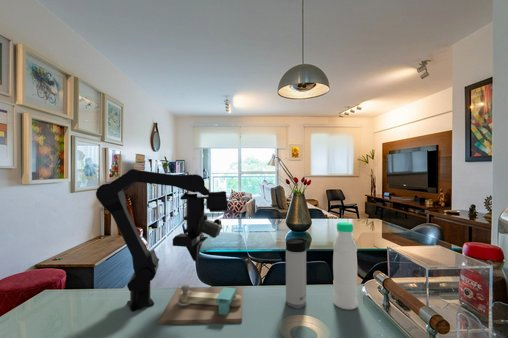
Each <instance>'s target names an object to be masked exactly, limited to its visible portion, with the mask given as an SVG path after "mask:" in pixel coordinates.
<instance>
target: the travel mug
mask: <svg viewBox="0 0 508 338" xmlns="http://www.w3.org/2000/svg"><path fill="white" fill-rule="evenodd" d="M307 242H308V238H302V237H294V238H289V239H287V240H286V241H285V303H286V304H287V306H289V307H291V308H293V309H302V308H304V307H306V305H307V249H306V248H307V244H306V243H307Z"/></svg>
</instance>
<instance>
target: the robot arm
mask: <svg viewBox="0 0 508 338" xmlns="http://www.w3.org/2000/svg"><path fill="white" fill-rule="evenodd" d="M137 183H141V184H142V183H143V184H149V185H161V186H167V187H169V186H170V187H175V188H178V189H180V190H183V191H184V193H183V194H182V195H181V196H180V197H179V198H180V200H186V201H185V202H186V205H185V206H186V208H185V209H186V211H185V212H186V214H185V216H184V217H183V220H184V221H185V222H186V223H185V224H186V227H185V228H184V229H183V233H182V232H181V233H179V234H177V235H175V236H174V237H173V238H172V246H173V247H181V248H183V247H185V248H186V249H187V251H188V253H189V255H190V257H191V259H192V261H194V262H197V261H198V259H199V256H200V253H201V249H202V246H203V243H204V242H205V241H206V240H207V239H208V238H209V237H210V238H212V239H215V238H216V237H218V236H220V233H221V230H222V229H223V224H222V220H221V219H219V218H216V219H214V220H209V219H208V216H207V214H205V208H206V210H209V212H210V213H220V212H228V207H229V205H228V204H229V203H228V198H227V192H226V191H225V190H222V191H221V190H220V191H210V189H208V188H207V187H206V186H205V185H206V184H205V179H204V178H203V176H201V175H200V174H194V173H193V174H170V173H162V172H155V171H149V170H148V171H147V170H141V169H137V168H131V169H129V170H128V171H126V172H125V173H124V174H123V175H121V176H119V177H117V178H116V179H114V180H113V181H111V182H109V183H103V184H101V185H99V187H97V189H96V192H95V196H96V199H97V201H98V203H100V204H101V205H102V207H103V208H104V209H105V210H106V211H107V212H108V213H110V215H111V216H112V218H113V221H114V222H115V225H116V226H117V228H118V231H119V232H120V234H121V237H122V239H123V241H124V243H125V245H126V247H127V249H128V251H129V253H130V255H131V258H132V259H131V260H132V269H133V273H132V275H131V277H130V279H129V281H127V284H126V286H127V288H128V292H130V293H129V297H130V298H129V299H130V300H127V302H126V304H127V306H128V308H129V310H130V312H136V311H139V310H141V309H145V308H148V307H151V306H154V305H155V302H154V301H153V299H152V298H151V281H153V280H154V278H155V277H156V274H157V272H158V269H159V261H160V259H159V257H158V256H157V254H156V251H155V249H151V250H149V249H148V248H147V247H146V246H145V243H144V242H143V239H142V237H141V235H140V233H139V231H138V229H137V227H136V225H135V222H134V220H133V219H132V217H131V215H130V212H129V211H128V207H127V199H126V195H125V191H127V190H128V189H130V188H132V187H133V186H134V185H135V184H137ZM188 192H191V193H188ZM198 193H199V194H200V195H202V196H199V195H198ZM205 235H208V236H209V237H208V236H205ZM216 239H217V238H216Z"/></svg>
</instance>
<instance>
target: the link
mask: <svg viewBox="0 0 508 338" xmlns="http://www.w3.org/2000/svg"><path fill="white" fill-rule="evenodd" d="M180 288H181V289H182V290H183V291H182V292H180V293H179V303H182V304H185V303H194V304H207V305H219V303H216V298H217V296H218V295H219V293H204V292H191V291H188V289H189V288H190V285H189V284H185V285H181V287H180ZM240 305H241V296H240V295H235V296H234V297H233V299H232V301H231V303H230V306H234V307H238V306H240Z"/></svg>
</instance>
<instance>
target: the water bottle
mask: <svg viewBox="0 0 508 338" xmlns="http://www.w3.org/2000/svg"><path fill="white" fill-rule="evenodd" d="M336 230H337V235H336V238H335V240H334V241H333V245H332V248H333V255H332V270H333V271H332V273H333V282H332V286H333V294H332V296H333V297H332V300H333V303H334V305H335V306H336V307H338V308H340V309H342V310H347V311H348V310H349V311H350V310H354V309H356V308H357V307H358V304H359V303H358V301H359V299H358V282H357V281H358V257H357V256H358V255H357V252H358V246H357V244H356V242H355V239H354V238H353V236H352V234H353V230H354V225H353V224H352V223H351V222H343V221H342V222H341V221H340V222H337V223H336Z"/></svg>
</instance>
